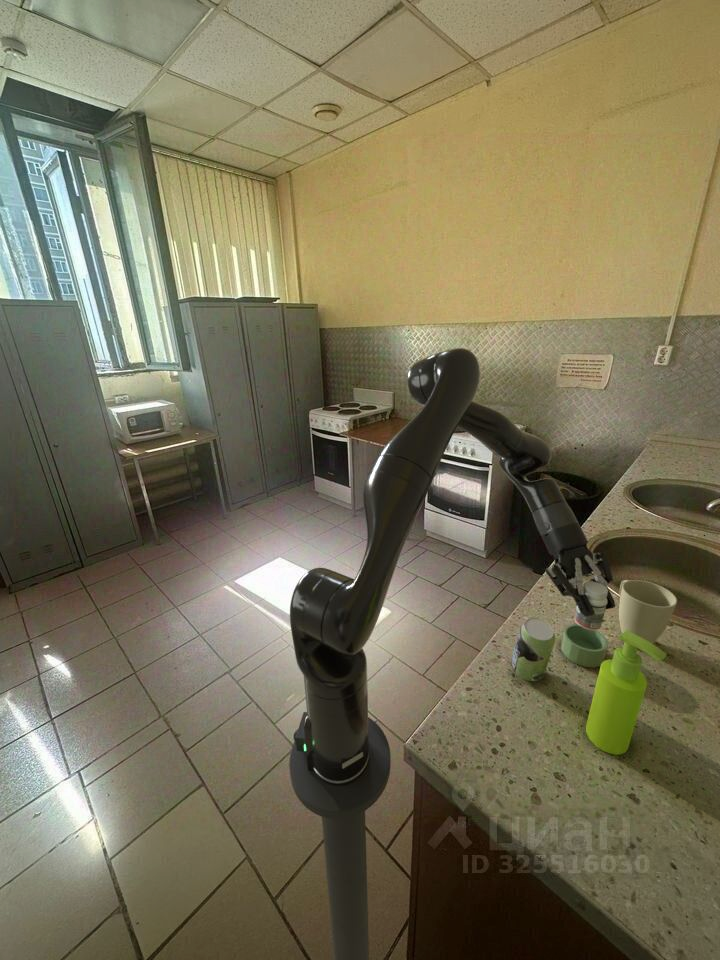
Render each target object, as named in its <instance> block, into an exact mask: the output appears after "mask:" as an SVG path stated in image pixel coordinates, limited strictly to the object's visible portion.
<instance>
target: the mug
mask: <svg viewBox="0 0 720 960" xmlns="http://www.w3.org/2000/svg"><path fill="white" fill-rule="evenodd" d="M677 604H678V599H677V596H676V595H675V594H674V593H673V592H672V591H670V590H669V589H667V588H666V587H663V586H661V585H660V584H657V583H654V582H650V581H646V580H642V579H641V580H640V579H624V580H622V581H621V582H620V586H619V605H618V619H619V626H620V631H621V634H622V633H623V632H625V631H626V630H627V631H629V632H631V633H633V634H635V635H637V636H639V637H641V638H643V639H645V640H647V641H649V642H650V643H652V644H654V643H655V642H656V641H657V640H658V639H659V638H660V637H661V636H662V635H663V633H664V632H665V630H666V629H667V627H668V625H669V623H670V621H671V618H672V615H673V614H674V611H675V609H676V606H677Z"/></svg>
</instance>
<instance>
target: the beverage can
mask: <svg viewBox="0 0 720 960" xmlns="http://www.w3.org/2000/svg"><path fill="white" fill-rule="evenodd" d="M555 642H556V635H555V632H554V629H553V627H552V626H551V624H550V623H548V622H547V621H545V619H541V618H538V617H529V618H527V619H526V620H525V621H523V622H522V623H521V624H520V625H519V628H518V632H517V636H516V640H515V644H514V648H513V652H512V656H511V660H510V664H511V665H510V666H511V668H512V670H513V671H514V673H515V674H516V675H517V676H518V677H519V678H521V679H522V680H525V681H528V682H539V681H541V680H542V679H543V678H544V677H545V673H546V672H547V671H546V670H547V667H548V664H549V662H550V659H551V655H552V652H553V649H554V647H555Z"/></svg>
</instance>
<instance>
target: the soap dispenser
mask: <svg viewBox="0 0 720 960" xmlns="http://www.w3.org/2000/svg"><path fill="white" fill-rule="evenodd" d="M618 640H621V641H623V645H622V646H623V647H618V648H616V649H615V650H614V652H613V656H612V658H611V659H604V661H603V662H602V664H601V665H600V666H599V671H598V675H597V679H596V683H595V687H594V691H593V696H592V700H591V704H590V708H589V712H588V715H587V716H588V717H587V721H586V725H585V732H586V735H587V737H588V739H589V740H590V742H591V743H592V744H593V745H594V746H596V748H597V749H600V750H601V751H603V752H605V753H607V754H611V755H615V756H618V755H619V756H620V755H624V754H625V753H626V752H627V751H628V749H629V747H630V742H631V739H632V736H633V732H634V729H635V727H636V723H637V719H638V716H639V713H640V711H641V707H642V703H643V701H644V697H645V693H646V690H647V687H648V680H647V678H646V677H645V675H644V674H643V673H642V671H641V667H642V664H643V663H642V662H643V659H642V657H641V656H640V654H639V653H638V650H640V651H642V652H644V653H645V654H646V655H648V656H650V657H651V658H653V660H655V661H657V662H662V661H663V660H664V659H665V658H666V657H667V656H668V654H667V653H666V652H665V651H664V650H663V649H661V648H659V647H658V646H656V645H655V644H654V643H653V644H652V643H650V642H649V641H647V640H645V639H643V638H641V637H639V636H637V635H635V634H633V633H631V632H629V631H627V630H626V631H625V632H623V633H622V632H621V633H620V635H619V636H618Z"/></svg>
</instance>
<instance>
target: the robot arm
mask: <svg viewBox="0 0 720 960" xmlns="http://www.w3.org/2000/svg"><path fill="white" fill-rule="evenodd" d="M480 378H481V368H480V363H479V360H478V358H477V356H476V355H475V354H474V353H473V351H471V350H469V349H468V348H463V347H457V348H456V347H455V348H450V349H446V350H442V351H440V352H437V353H434V354H431V355H428V356H425V357H423V358H421V359H418V360H417V361H415V362H414V363H413V364H412V365H411V367H410V368H409V370H408V374H407V387H408V390H409V393H410V395H411V398H412V399H413V400H414V401H415V402H416V403H417V404H418V405H419V406H421V407H422V408H421V409H420V410H419V411H418V413H417V414H416V415H415V416H414V417H413V418H412V419H410V421H409V422H407V423H406V424H405V425H404V426H403V427H402V428H401V429H400V430H399V431H398V432H397V433H396V434H394V436H392V437H391V438H390V440H389V441H388V442H387V443H386V444H385V445H384V447H383V448H382V450H381V451H380V452H379V454H378V456H377V458H376V459H375V461H374V463H373V465H372V468H371V469H370V472H369V474H368V475H367V478H366V479H365V482H364V486H363V492H362V493H363V494H362V501H363V510H364V519H365V525H366V547H365V552H364V555H363V557H362V561H361V564H360V566H359V569H358V571H357V573H356V576H355V577H354V578H352V577H350V576H347V575H345V574H342V573H339V572H337V571H334V570H332V569H329V568H326V567H314V568H311V569H310V570H308V571H307V572H306V573H304V574H303V575H302V576H301V577H300V579H299V581H298V582H297V583H296V585H295V587H294V589H293V593H292V595H291V598H290V599H291V600H290V605H289V624H290V625H289V626H290V631H291V637H292V643H293V644H292V645H293V649H294V655H295V660H296V664H297V667H298V669H299V670H300V672H301V674H302V675H303V685H304V695H305V705H306V711H303V713H302V715H301V718H300V721H299V725H298V728H297V729H296V730H295V731H294V733H293V740H294V741H295V742H296V749H297V751H302V752H306V758H307V769H308V770H309V771H313V772H315V774H316V775H317V777H318V778H319V779H320V780H322V781H323V782H325V783H327V784H330V785H334V786H342V785H347V784H350V783H352V782H354V781H355V780H357V779H358V778H359V777H360V776H361V775H362V774H363V773H364V771H365V769H366V767H367V765H368V762H369V741H368V717H369V699H368V698H369V697H368V695H369V694H368V661H367V656H366V651H364V647H365V646H366V645H367V643H368V641H369V640H370V637H372V634H373V632H374V629H375V627H376V625H377V623H378V620H379V618H380V615H381V612H382V610H383V606H384V604H385V600H386V597H387V594H388V593H389V592H388V591H389V589H390V586H391V582H392V580H393V577H394V573H395V570H396V568H397V565H398V561H399V559H400V556H401V554H402V551H403V549H404V546H405V544H406V541H407V539H408V536H409V534H410V532H411V530H412V528H413V525H414V523H415V522H416V521H415V520H416V518H417V517H418V514H419V512H420V510H421V508H422V506H423V504H424V502H425V499H426V497H427V495H428V493H429V490H430V488H431V486H432V483H433V481H434V478H435V475H436V473H437V470H438V467H439V466H440V463H441V461H442V458H443V456H444V455H445V453H446V450H447V448H448V446H449V444H450V442H451V439H452V437H453V436H454V433H455V432H456V430H457V428H460V429H461V430H463V431H464V432H466V433H468V434H469V435H471V437H473V438H475V439H476V440H477V441H479V442H480V443H481V444H482V445H483V446H485V447H486V448H487V449H488V450H489V451H490V453H492V454H494V455H495V456H496V457H497V458H499V461H498V462H499V466H500V469H501V470H502V472H503V473H504V474H505V476H507V478H508V479H509V480H510V481H511V482H512V483H513V484H514V486H515V487H516V488H517V489H518V491H519V492H520V494H521V495H522V497H523V498H524V500H525V502H526V504H527V506H528V509H529V510H530V513H531V514H532V517H533V520H534V523H535V527H536V528H537V531H538V532H539V535H540V537H541V539H542V541H543V543H544V545H545V547H546V549H547V552H548V554H549V555H550V556H553V559H554V564H553V565H551V566H549V567H546V568H545V569H544V570H545V573H546V574H547V576H548V578H549V579H550V580H551V581H552V583H553V585H554V586H555V587H556V588H557V590H558V591H559V594H560V595H562V596H563V597H571V598H572V599H573V600H574V602H575V604H576V607H577V606H578V608H579V610H580V612H581V613H582V614H583V615H584V616H585V617H587V616H591V615H594V614H595V612H594V610H593V608H592V606H591V604H590V602H589V600H588V598H587V596H586V595H583V594H584V590H583V586H584V580H585V581H586V582H590V581H591V582H597V583H600V584H602V585H604V586H605V587H606V588H607V589H608V594H607V597H606V598H607V606H606V609H605V610H610V609H614V608H615V607H616V602H615V600H614V597H613V595H612V593H611V591H610V590H609V584H610V583H612V582H613V581H614V578H613V574H612V571H611V568H610V566H609V561H608V559H607V555H606V553H605V552H604V551H600V552H592V551H591V550H590V549H589V548H588V546H587V545H588V543H589V541H588V538H587V536H586V534H585V532H584V530H583V529H582V527H581V525H580V523H579V521H578V519H577V517H576V515H575V513H574V511H573V510H572V508H571V507H570V506H569V504H568V502H567V500H566V499H565V497H564V495H563V493H562V490H561V489H560V487H559V484H558V483H557V482H556V481H555V480H554V479H553V478H550V477H546V478H540V479H537V480H529V479H528V477H527V476H529V475H531V474H534V473H535V472H538V471H539V470H541V469H544V468H545V467H547V466H548V465H549V464H550V462H551V461H552V451H551V448H550V447H549V445H548V443H546V442H545V441H544V440H543V439H542V438H540V437H538V436H537V435H534V434H533V433H529V432H526V431H524V430H522V429H520V428H519V427H518V426H517V425H516V424H515V423H514V422H513V421H512V420H511V419H510V418H509V417H508V416H507V415H505V414H504V413H502V412H501V411H499V410H497V409H494V408H492V407H490V406H487V405H484V404H482V403H479V402H476V401H474V399H475V396H476V393H477V391H478V387H479V384H480ZM294 741H293V742H294Z"/></svg>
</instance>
